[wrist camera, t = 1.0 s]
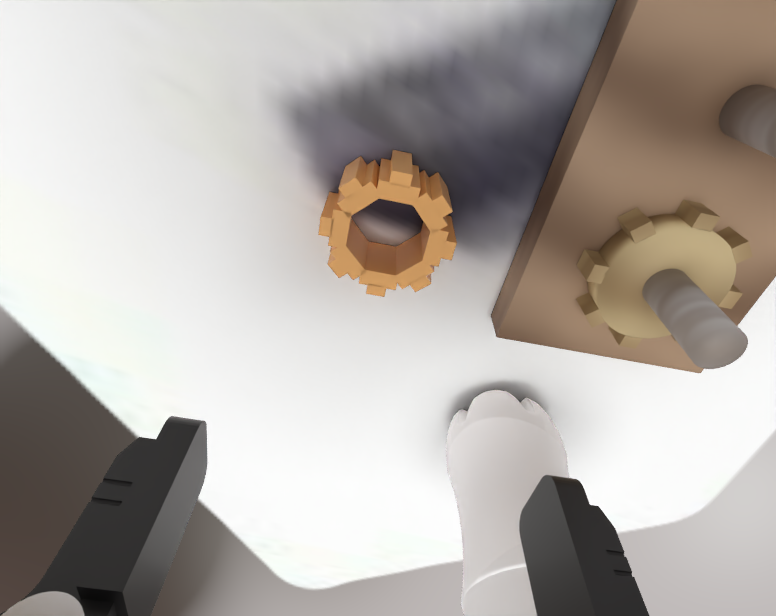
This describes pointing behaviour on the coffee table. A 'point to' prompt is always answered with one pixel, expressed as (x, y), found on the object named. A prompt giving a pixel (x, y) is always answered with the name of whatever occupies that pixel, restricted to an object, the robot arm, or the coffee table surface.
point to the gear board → (657, 192)
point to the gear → (379, 260)
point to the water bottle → (499, 495)
